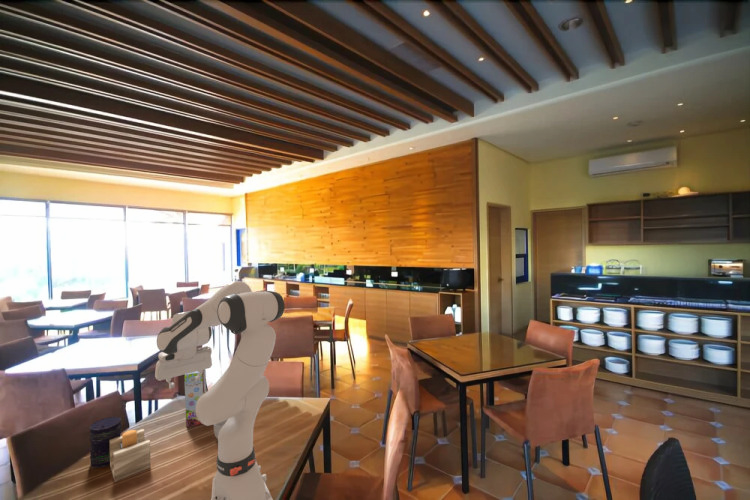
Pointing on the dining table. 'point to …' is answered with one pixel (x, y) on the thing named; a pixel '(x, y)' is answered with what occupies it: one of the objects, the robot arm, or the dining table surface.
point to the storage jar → (103, 440)
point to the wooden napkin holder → (129, 457)
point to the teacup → (218, 427)
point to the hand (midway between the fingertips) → (185, 384)
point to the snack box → (193, 396)
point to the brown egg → (129, 438)
